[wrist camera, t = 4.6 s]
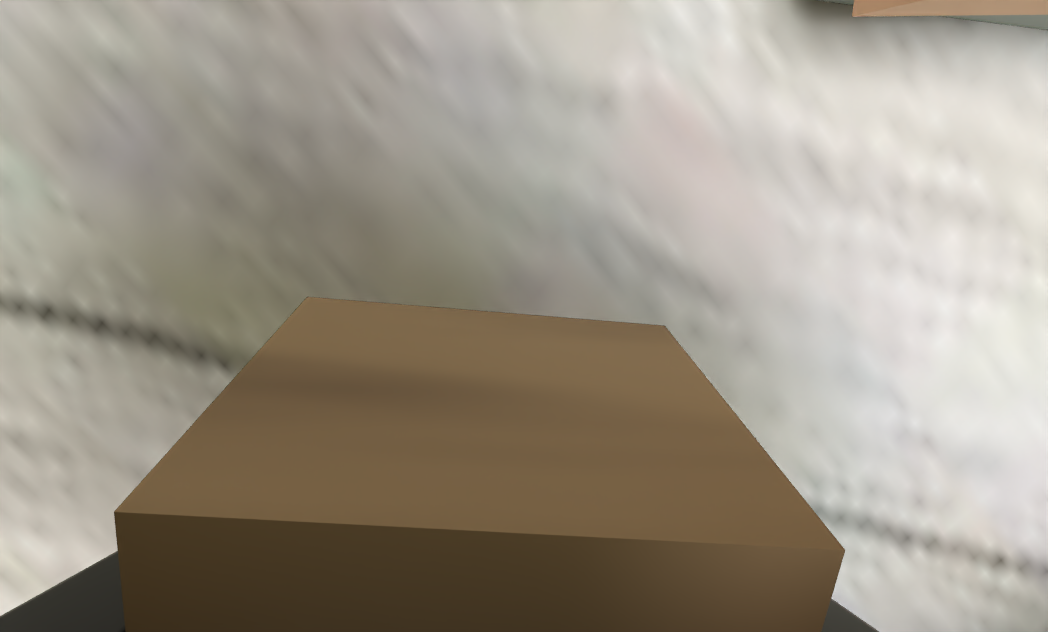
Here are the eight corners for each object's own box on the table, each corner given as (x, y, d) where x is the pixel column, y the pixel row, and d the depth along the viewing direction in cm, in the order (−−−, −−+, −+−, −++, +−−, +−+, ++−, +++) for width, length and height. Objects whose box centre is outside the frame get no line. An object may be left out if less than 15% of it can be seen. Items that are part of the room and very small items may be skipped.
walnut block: (614, 610, 11) (714, 996, 6) (305, 597, 11) (160, 1002, 6) (664, 325, 10) (845, 550, 5) (306, 296, 9) (115, 510, 4)
